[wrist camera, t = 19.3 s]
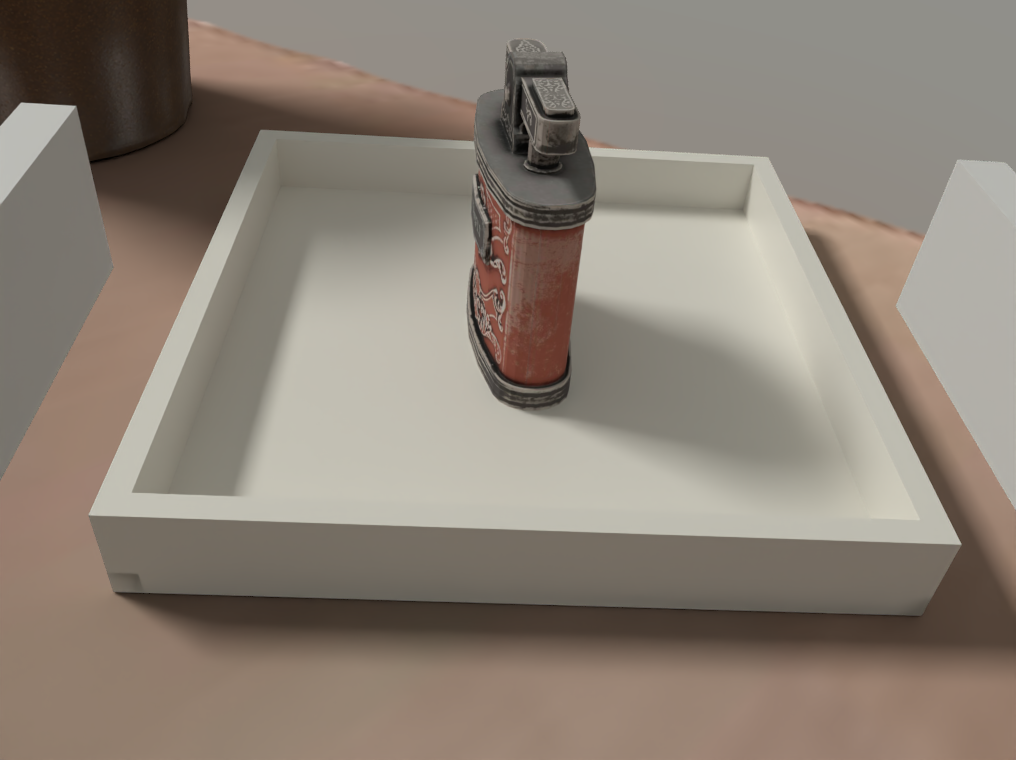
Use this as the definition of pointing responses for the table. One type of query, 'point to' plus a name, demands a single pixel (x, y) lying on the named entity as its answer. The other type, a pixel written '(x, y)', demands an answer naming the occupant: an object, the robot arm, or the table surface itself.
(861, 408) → the tray
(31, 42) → the plant pot
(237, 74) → the table surface
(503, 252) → the lighter
